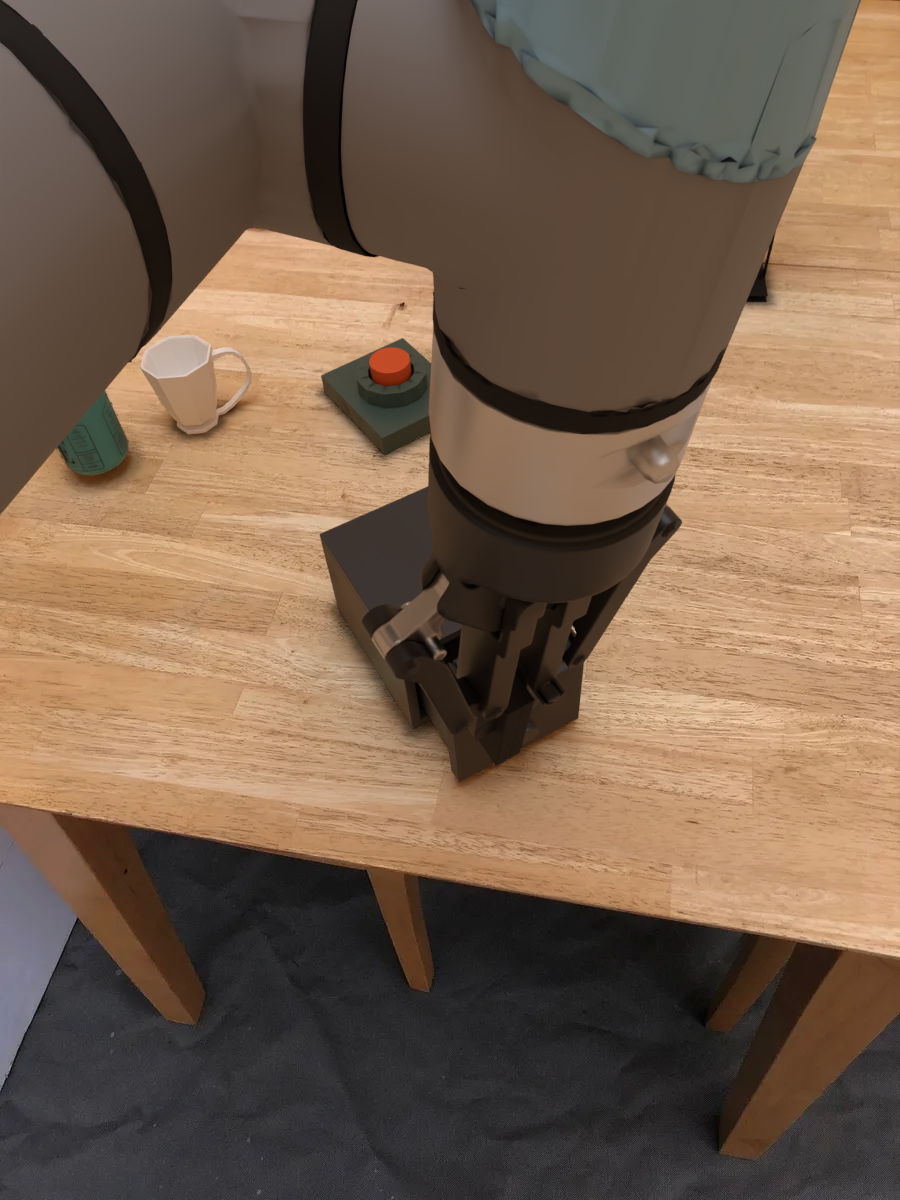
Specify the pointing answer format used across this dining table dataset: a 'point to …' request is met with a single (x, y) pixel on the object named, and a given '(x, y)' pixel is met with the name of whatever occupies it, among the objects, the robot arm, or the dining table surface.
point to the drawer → (543, 721)
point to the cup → (189, 380)
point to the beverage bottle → (95, 440)
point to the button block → (383, 399)
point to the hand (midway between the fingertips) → (493, 738)
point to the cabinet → (383, 578)
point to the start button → (390, 366)
